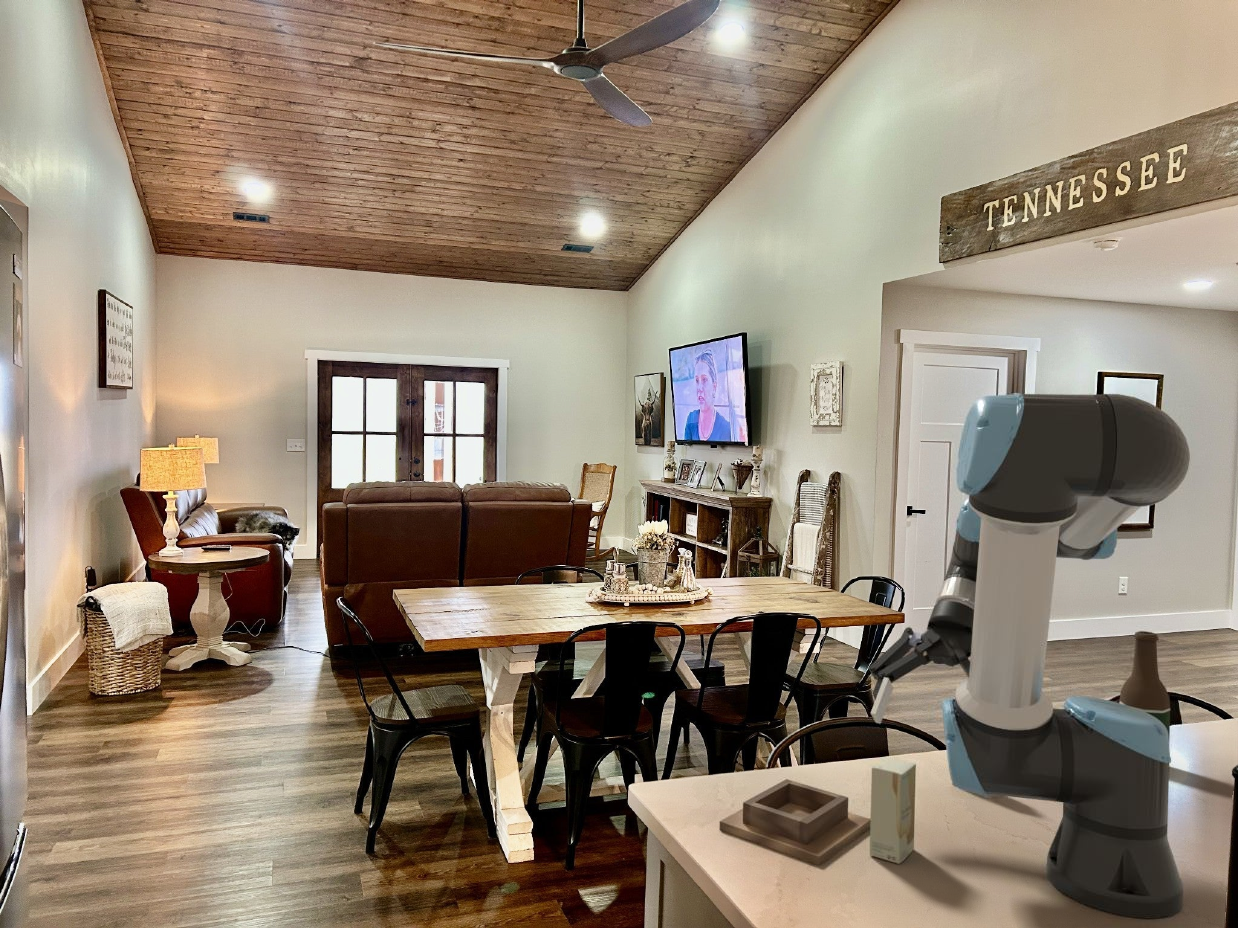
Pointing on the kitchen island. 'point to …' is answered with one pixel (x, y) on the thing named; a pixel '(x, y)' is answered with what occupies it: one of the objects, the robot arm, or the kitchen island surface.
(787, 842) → the walnut box stand
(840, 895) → the kitchen island surface
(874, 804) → the skincare box
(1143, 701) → the beer bottle
